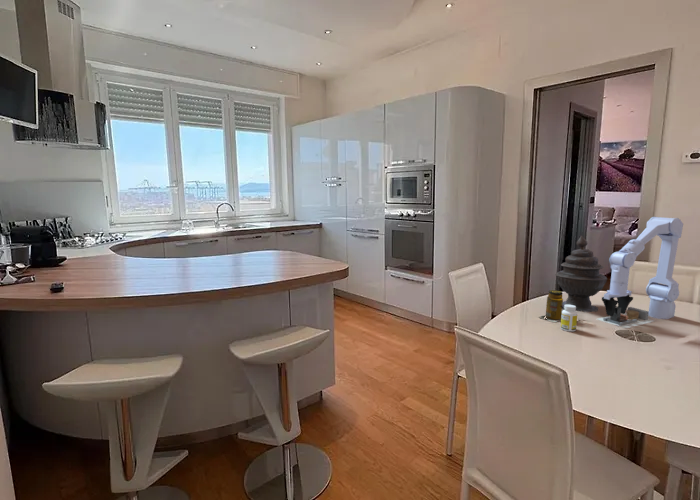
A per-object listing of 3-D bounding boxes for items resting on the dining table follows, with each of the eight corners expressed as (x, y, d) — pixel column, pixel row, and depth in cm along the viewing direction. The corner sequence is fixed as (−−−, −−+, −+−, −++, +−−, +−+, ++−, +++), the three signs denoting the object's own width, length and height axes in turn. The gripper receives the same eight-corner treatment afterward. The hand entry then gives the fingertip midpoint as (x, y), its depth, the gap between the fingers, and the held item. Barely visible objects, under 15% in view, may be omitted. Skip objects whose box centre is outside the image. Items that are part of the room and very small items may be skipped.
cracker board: (624, 315, 167) (625, 305, 167) (655, 324, 157) (656, 312, 156) (595, 322, 159) (596, 310, 159) (625, 331, 149) (626, 319, 148)
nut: (629, 316, 162) (630, 309, 162) (640, 319, 159) (641, 312, 158) (624, 317, 161) (624, 310, 160) (634, 320, 157) (635, 313, 157)
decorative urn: (615, 316, 164) (616, 235, 161) (564, 317, 168) (564, 238, 165) (594, 305, 184) (594, 233, 181) (549, 305, 188) (548, 235, 185)
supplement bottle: (574, 328, 153) (576, 304, 151) (577, 332, 148) (579, 308, 146) (559, 326, 155) (561, 303, 153) (561, 331, 150) (563, 307, 148)
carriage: (616, 319, 159) (617, 304, 158) (627, 322, 155) (629, 307, 154) (606, 321, 156) (608, 306, 155) (618, 324, 152) (619, 309, 151)
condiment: (565, 319, 164) (567, 292, 162) (554, 322, 159) (557, 295, 157) (548, 314, 170) (551, 288, 168) (538, 318, 165) (540, 291, 163)
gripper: (620, 278, 159) (616, 309, 161) (597, 281, 153) (594, 313, 155) (638, 281, 152) (634, 314, 155) (615, 285, 147) (612, 319, 149)
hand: (615, 314), depth 154 cm, fingers open, 7 cm apart
